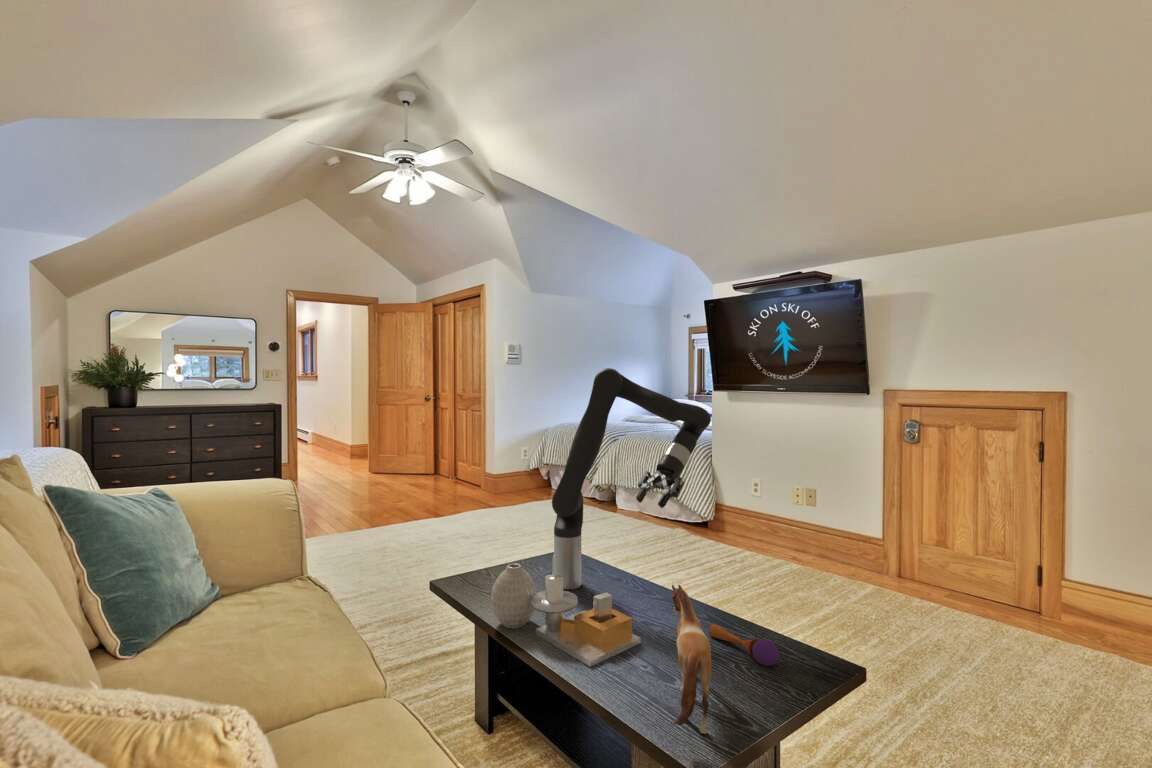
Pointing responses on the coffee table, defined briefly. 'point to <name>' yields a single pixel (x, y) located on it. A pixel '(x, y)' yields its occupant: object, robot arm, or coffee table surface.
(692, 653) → the horse figurine
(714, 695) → the coffee table surface
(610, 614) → the grey rectangular peg
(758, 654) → the kendama
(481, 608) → the coffee table surface
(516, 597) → the vase
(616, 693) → the coffee table surface
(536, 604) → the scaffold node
